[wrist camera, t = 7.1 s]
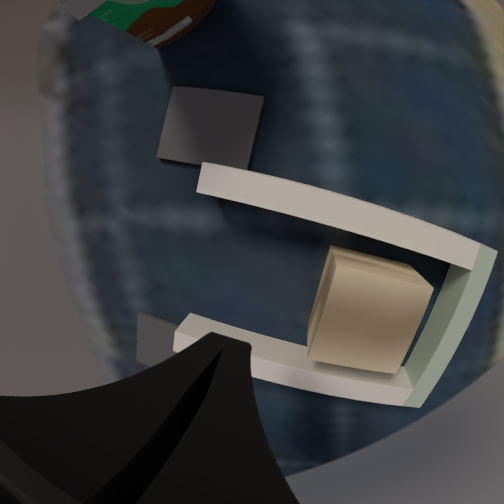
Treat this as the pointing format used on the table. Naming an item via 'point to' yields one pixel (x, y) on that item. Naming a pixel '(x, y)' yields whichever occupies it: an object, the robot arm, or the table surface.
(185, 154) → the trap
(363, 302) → the birch block
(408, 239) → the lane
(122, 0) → the food container
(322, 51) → the table surface
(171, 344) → the plate
